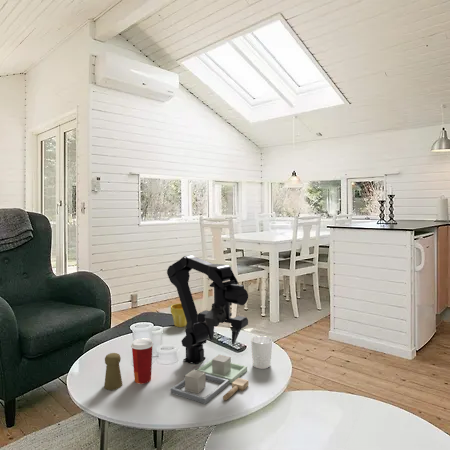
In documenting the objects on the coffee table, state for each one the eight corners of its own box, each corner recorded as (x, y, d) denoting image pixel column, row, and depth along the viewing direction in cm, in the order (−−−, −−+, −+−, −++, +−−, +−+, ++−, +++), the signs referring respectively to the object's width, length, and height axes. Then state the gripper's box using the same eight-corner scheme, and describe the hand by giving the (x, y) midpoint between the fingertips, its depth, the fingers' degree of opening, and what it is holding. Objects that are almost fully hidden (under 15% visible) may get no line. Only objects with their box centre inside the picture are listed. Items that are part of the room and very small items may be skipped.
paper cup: (157, 377, 138) (157, 338, 137) (146, 387, 130) (146, 346, 129) (138, 373, 140) (138, 336, 139) (127, 383, 133) (126, 344, 132)
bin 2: (196, 373, 140) (196, 369, 140) (213, 361, 150) (213, 358, 150) (231, 383, 133) (231, 379, 132) (247, 370, 142) (247, 366, 142)
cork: (106, 391, 127) (105, 359, 127) (102, 383, 133) (101, 352, 132) (124, 387, 130) (123, 355, 129) (120, 379, 136) (119, 349, 135)
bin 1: (170, 392, 126) (170, 388, 126) (196, 375, 139) (196, 371, 139) (205, 404, 119) (205, 399, 119) (228, 384, 132) (228, 380, 132)
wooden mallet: (229, 403, 120) (229, 397, 120) (218, 399, 122) (218, 394, 122) (248, 385, 131) (248, 380, 131) (238, 382, 133) (238, 377, 133)
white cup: (271, 370, 142) (271, 344, 142) (250, 368, 144) (249, 342, 143) (272, 361, 150) (272, 336, 149) (252, 360, 152) (252, 335, 151)
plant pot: (191, 328, 189) (190, 308, 188) (169, 328, 188) (169, 309, 188) (192, 321, 199) (191, 302, 199) (171, 321, 199) (171, 303, 198)
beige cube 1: (219, 367, 144) (219, 354, 144) (230, 370, 142) (230, 357, 142) (212, 372, 140) (212, 359, 140) (224, 375, 138) (224, 362, 137)
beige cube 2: (185, 390, 128) (184, 375, 128) (193, 383, 133) (193, 369, 132) (197, 393, 126) (197, 378, 126) (205, 387, 130) (205, 372, 130)
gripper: (187, 302, 137) (188, 344, 138) (233, 309, 128) (233, 355, 129) (205, 295, 147) (205, 335, 148) (248, 301, 137) (249, 344, 138)
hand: (222, 342), depth 140 cm, fingers open, 9 cm apart
